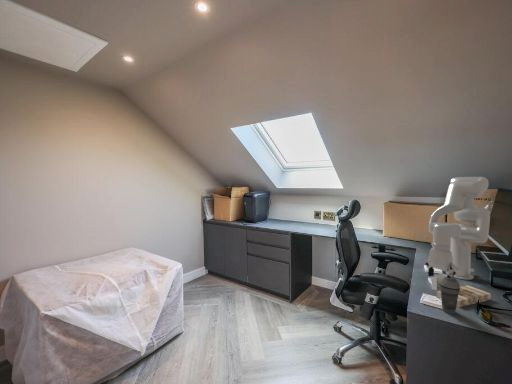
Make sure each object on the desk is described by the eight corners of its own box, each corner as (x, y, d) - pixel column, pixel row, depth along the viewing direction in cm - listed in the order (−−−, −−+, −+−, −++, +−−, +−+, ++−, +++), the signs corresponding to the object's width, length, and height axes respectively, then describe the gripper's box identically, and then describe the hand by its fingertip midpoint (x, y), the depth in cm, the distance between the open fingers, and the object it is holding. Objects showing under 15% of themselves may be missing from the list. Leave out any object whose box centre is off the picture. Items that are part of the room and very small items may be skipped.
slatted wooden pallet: (467, 290, 126) (467, 285, 126) (490, 299, 117) (490, 293, 116) (436, 297, 120) (436, 291, 119) (458, 307, 110) (459, 300, 110)
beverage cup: (443, 305, 112) (444, 263, 111) (462, 313, 105) (464, 268, 104) (435, 309, 108) (436, 266, 107) (454, 317, 102) (456, 271, 101)
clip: (444, 286, 131) (444, 273, 131) (449, 288, 129) (450, 275, 128) (430, 289, 128) (430, 276, 128) (436, 291, 126) (436, 278, 125)
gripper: (420, 243, 134) (419, 274, 135) (454, 252, 118) (452, 286, 119) (430, 243, 137) (429, 272, 137) (464, 251, 120) (463, 285, 121)
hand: (440, 279), depth 128 cm, fingers open, 9 cm apart
